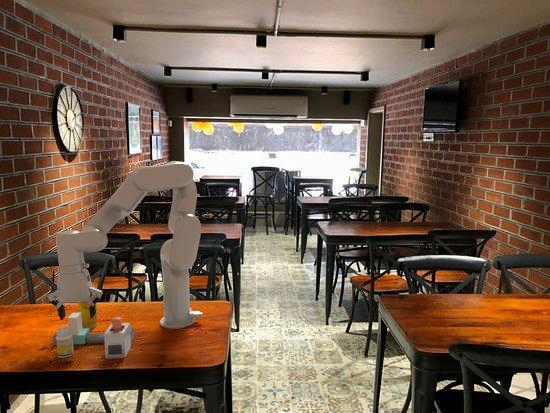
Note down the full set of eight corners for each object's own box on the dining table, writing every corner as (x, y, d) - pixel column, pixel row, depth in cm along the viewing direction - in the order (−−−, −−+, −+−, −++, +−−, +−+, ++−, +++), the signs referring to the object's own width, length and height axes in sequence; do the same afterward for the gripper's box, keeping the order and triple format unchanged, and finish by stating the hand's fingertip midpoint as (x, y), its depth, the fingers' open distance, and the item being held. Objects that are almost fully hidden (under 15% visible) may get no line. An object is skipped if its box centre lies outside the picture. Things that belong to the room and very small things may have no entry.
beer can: (91, 330, 156) (88, 290, 154) (76, 329, 157) (73, 289, 155) (101, 323, 162) (98, 284, 160) (86, 322, 163) (83, 283, 161)
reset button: (123, 328, 140) (122, 316, 140) (121, 332, 137) (120, 320, 137) (113, 328, 140) (113, 316, 139) (111, 332, 137) (110, 320, 136)
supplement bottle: (60, 351, 140) (58, 326, 139) (75, 350, 141) (74, 325, 140) (54, 358, 136) (52, 332, 134) (70, 357, 136) (68, 332, 135)
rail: (134, 336, 151) (133, 326, 151) (131, 342, 146) (130, 332, 146) (59, 339, 149) (58, 329, 148) (53, 346, 144) (52, 335, 143)
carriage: (89, 336, 150) (88, 311, 149) (84, 344, 144) (82, 317, 143) (68, 337, 149) (66, 312, 148) (62, 345, 144) (60, 318, 143)
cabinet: (131, 345, 144) (129, 322, 143) (125, 357, 136) (123, 333, 135) (112, 346, 143) (111, 323, 142) (105, 358, 135) (103, 334, 134)
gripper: (102, 263, 148) (107, 311, 151) (49, 266, 146) (55, 314, 149) (95, 269, 141) (101, 319, 143) (39, 273, 139) (46, 324, 142)
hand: (77, 317), depth 146 cm, fingers open, 9 cm apart
